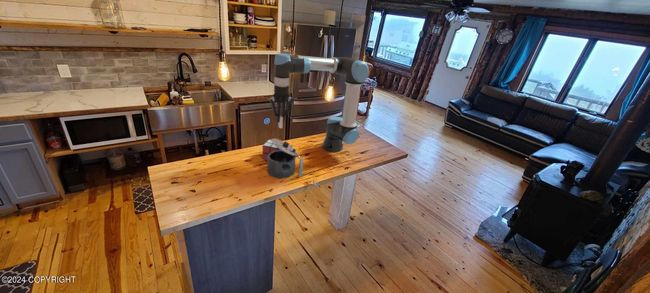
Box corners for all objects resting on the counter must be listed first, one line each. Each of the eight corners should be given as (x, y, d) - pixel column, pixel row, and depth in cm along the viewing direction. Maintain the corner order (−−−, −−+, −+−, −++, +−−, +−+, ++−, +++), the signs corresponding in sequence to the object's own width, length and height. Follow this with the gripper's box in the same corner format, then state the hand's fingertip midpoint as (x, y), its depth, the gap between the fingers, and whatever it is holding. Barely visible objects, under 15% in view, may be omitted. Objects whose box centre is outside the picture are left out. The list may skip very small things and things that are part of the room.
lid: (291, 148, 169) (294, 143, 168) (301, 160, 156) (304, 155, 155) (267, 137, 158) (271, 131, 158) (275, 149, 145) (279, 143, 145)
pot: (291, 160, 175) (291, 144, 170) (302, 177, 159) (303, 159, 154) (263, 164, 167) (263, 147, 162) (272, 182, 151) (273, 164, 146)
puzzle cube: (277, 162, 172) (277, 148, 168) (262, 159, 173) (262, 145, 169) (282, 155, 181) (283, 141, 176) (268, 152, 182) (268, 139, 178)
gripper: (291, 83, 146) (289, 124, 156) (267, 83, 140) (267, 125, 150) (296, 86, 140) (293, 128, 150) (271, 87, 134) (270, 130, 144)
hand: (280, 127), depth 150 cm, fingers closed
